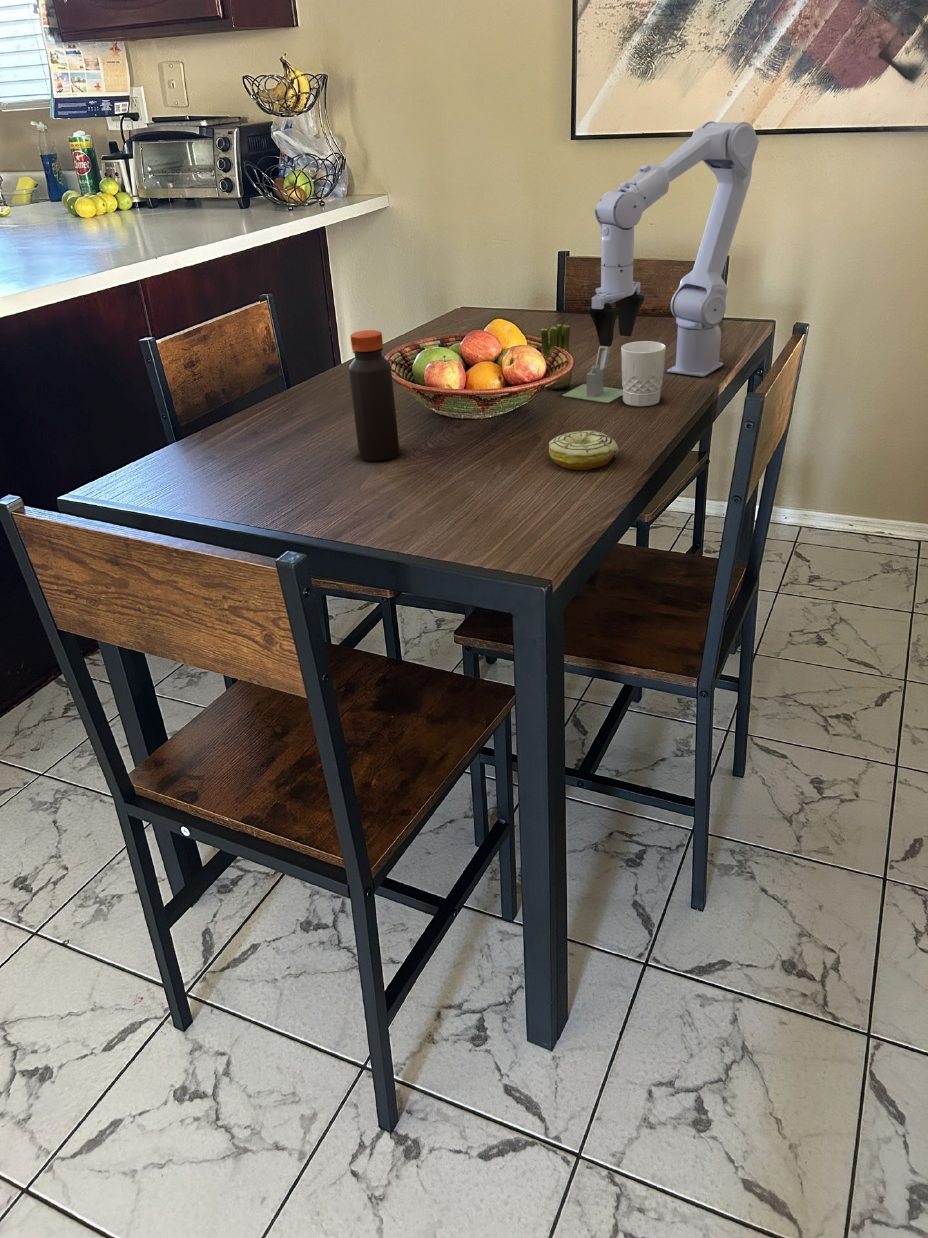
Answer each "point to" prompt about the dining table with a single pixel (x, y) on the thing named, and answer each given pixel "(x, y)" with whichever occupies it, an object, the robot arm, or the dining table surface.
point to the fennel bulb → (558, 339)
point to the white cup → (642, 372)
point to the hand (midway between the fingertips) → (615, 340)
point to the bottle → (373, 398)
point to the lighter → (597, 373)
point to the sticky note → (604, 397)
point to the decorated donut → (582, 449)
